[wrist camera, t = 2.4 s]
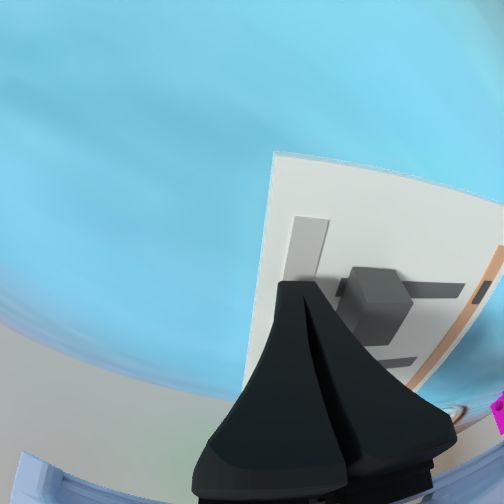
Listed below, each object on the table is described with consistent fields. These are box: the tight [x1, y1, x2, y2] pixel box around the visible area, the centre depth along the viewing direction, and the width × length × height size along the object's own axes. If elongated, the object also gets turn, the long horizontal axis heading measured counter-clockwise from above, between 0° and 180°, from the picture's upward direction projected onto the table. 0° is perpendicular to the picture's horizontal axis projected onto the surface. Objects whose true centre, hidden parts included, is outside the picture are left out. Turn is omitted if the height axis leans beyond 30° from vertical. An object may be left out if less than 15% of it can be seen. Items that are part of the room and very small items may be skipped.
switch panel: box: [241, 150, 504, 393], centre depth 15 cm, size 14×22×2 cm, turn 175°
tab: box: [336, 267, 414, 346], centre depth 10 cm, size 2×2×2 cm
